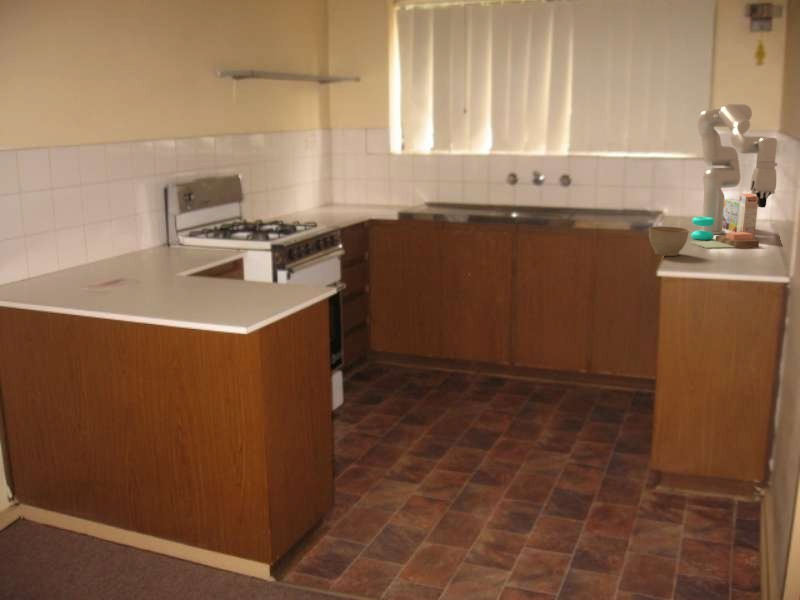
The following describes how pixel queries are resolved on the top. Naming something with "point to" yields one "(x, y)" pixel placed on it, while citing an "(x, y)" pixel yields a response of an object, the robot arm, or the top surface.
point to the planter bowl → (668, 240)
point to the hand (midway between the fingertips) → (761, 207)
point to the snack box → (730, 214)
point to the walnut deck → (738, 242)
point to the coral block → (739, 235)
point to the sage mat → (712, 244)
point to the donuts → (702, 222)
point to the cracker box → (747, 214)
